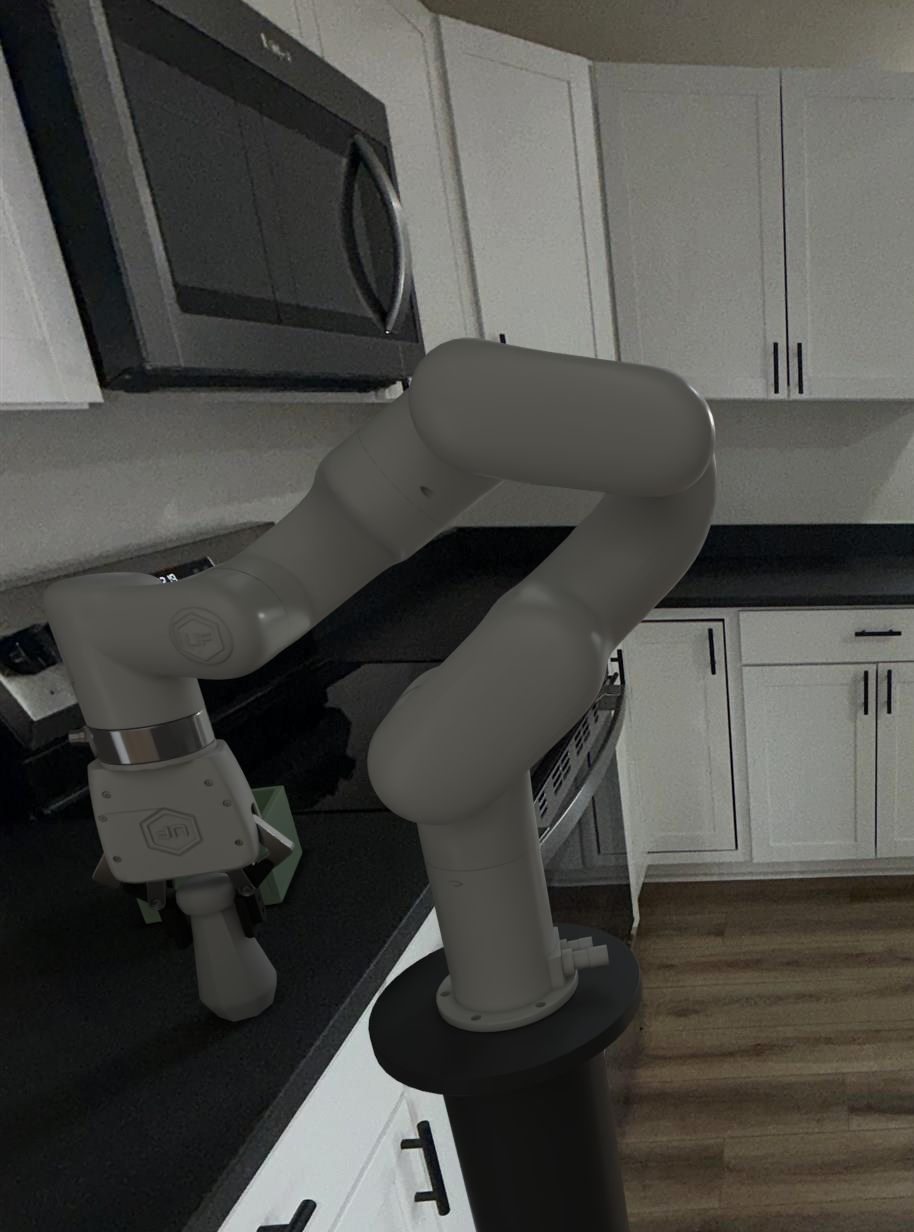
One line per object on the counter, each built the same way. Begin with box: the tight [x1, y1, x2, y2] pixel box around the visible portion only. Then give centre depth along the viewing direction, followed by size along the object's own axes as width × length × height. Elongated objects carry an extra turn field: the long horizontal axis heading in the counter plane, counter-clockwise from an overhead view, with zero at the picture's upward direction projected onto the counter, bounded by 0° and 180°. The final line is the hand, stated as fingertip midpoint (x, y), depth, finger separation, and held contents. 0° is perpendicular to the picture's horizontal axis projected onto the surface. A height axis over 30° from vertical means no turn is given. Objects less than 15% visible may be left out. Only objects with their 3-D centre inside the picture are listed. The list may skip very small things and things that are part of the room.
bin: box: [136, 785, 303, 925], centre depth 101 cm, size 12×12×9 cm
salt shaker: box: [176, 873, 278, 1023], centre depth 80 cm, size 6×6×13 cm
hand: (221, 933), depth 79 cm, fingers closed on salt shaker, 4 cm apart
